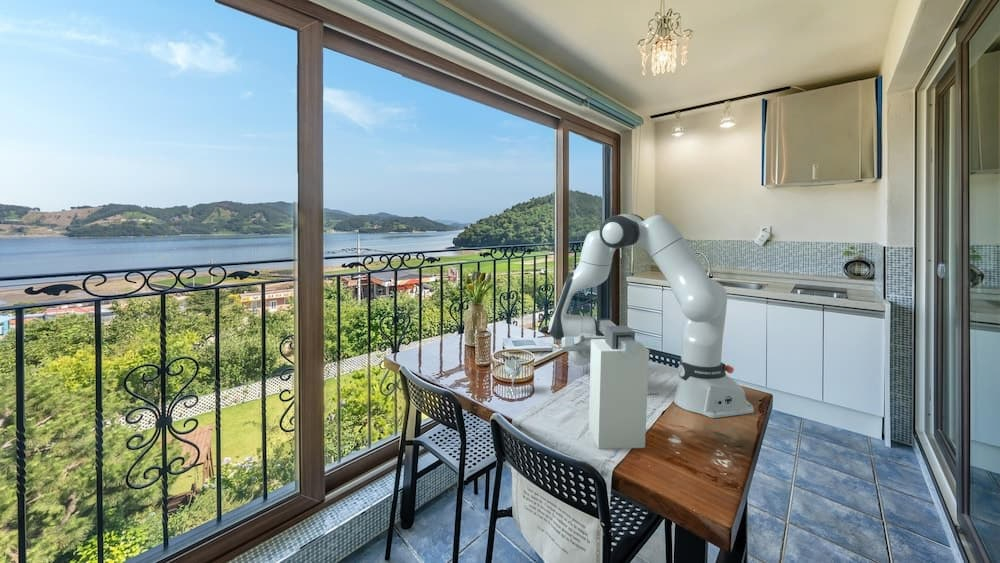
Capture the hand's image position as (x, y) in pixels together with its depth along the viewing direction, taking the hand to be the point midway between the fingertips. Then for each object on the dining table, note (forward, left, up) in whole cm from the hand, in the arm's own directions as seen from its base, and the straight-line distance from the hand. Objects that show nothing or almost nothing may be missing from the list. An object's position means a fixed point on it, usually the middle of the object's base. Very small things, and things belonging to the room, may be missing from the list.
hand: (596, 337), depth 124 cm
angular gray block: (0, +19, +5) cm, 19 cm away
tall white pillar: (0, +21, -21) cm, 30 cm away
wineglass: (+26, -9, -22) cm, 35 cm away
